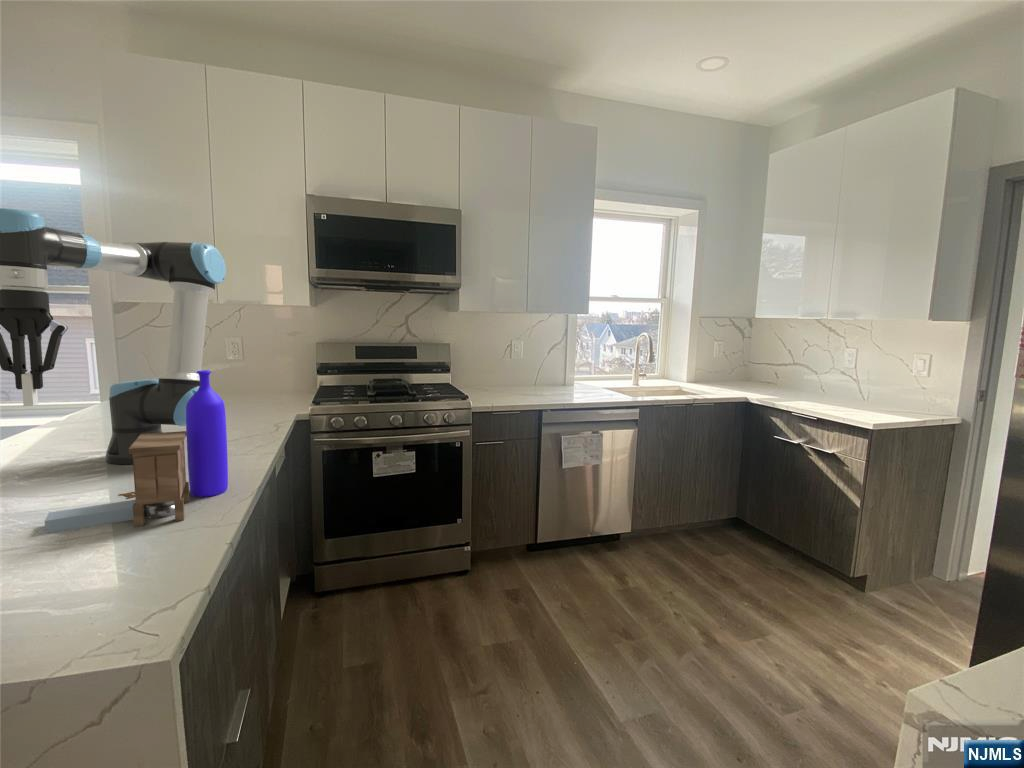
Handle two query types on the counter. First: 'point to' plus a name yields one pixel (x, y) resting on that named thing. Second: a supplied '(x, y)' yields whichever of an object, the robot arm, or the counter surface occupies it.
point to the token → (160, 509)
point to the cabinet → (159, 472)
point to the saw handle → (128, 495)
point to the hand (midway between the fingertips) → (30, 404)
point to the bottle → (206, 441)
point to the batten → (89, 516)
